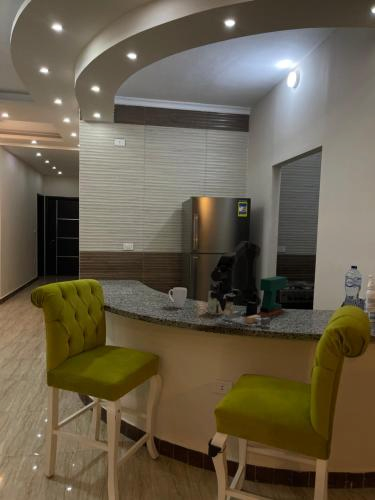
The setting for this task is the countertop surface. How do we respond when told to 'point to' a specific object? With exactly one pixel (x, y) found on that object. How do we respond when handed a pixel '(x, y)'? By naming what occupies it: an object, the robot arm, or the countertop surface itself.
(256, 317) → the sliding jaw
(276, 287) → the power tool
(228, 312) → the maple block
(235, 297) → the robot arm
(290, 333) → the countertop surface
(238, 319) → the vise base
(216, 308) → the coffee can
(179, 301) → the mug
